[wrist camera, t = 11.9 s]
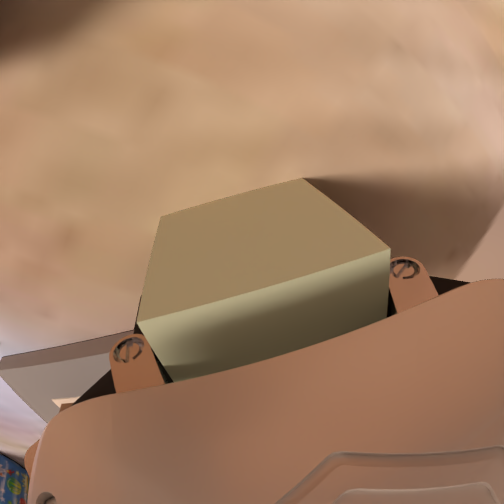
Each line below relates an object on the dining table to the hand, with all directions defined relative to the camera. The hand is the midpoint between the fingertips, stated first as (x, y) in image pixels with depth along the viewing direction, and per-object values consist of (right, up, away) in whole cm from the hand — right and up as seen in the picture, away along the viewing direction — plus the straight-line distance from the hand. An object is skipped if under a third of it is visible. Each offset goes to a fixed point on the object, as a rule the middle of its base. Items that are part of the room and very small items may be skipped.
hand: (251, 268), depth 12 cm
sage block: (0, 0, +1) cm, 1 cm away
